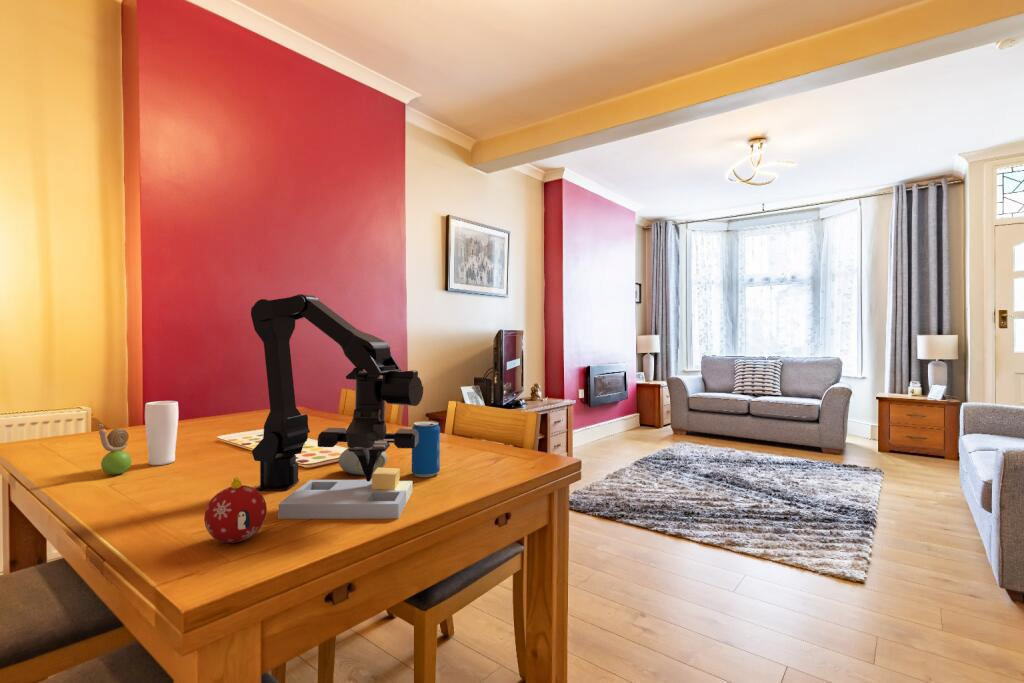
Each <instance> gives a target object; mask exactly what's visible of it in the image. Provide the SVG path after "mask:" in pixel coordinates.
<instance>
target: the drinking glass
mask: <svg viewBox="0 0 1024 683" xmlns="http://www.w3.org/2000/svg"><path fill="white" fill-rule="evenodd" d="M179 413H180V412H179V402H178V401H176V400H159V401H150V402H146V403H145V406H144V424H145V434H146V443H147V453H148V464H149V465H151V466H163V465H164V466H165V465H169V464H172V463H174V462H175V460H176V448H177V447H176V446H177V437H178V429H179V428H178V427H179V415H180V414H179Z"/></svg>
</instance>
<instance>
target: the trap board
mask: <svg viewBox="0 0 1024 683" xmlns="http://www.w3.org/2000/svg"><path fill="white" fill-rule="evenodd" d="M413 486H414V485H413V480H399V484H398V486H397V487H396V489H395V490H382V489H372V479H371V481H367V480H366V479H309V480H308V481H307V482H306V483H304V484H303V485H302V486H300V487H299V488H298V489H297V490H294V491H293V492H292V493H290V494H289V495H288V496H287V497H285V498H284V499H282V500H281V501H280V502H279V503H278V519H279V520H280V519H281V520H282V519H283V520H284V519H285V520H286V519H293V520H294V519H302V520H303V519H306V520H307V519H308V520H309V519H322V520H323V519H327V520H329V519H331V520H332V519H349V520H350V519H360V520H361V519H365V520H366V519H375V520H376V519H388V520H389V519H400V517H401V514H402V512H403V510H405V506H406V505H407V503H408V501H409V499H410V497H411V495H412V493H413Z"/></svg>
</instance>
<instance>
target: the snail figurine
mask: <svg viewBox="0 0 1024 683" xmlns="http://www.w3.org/2000/svg"><path fill="white" fill-rule="evenodd" d="M97 426H98V428H99V431H98V435H99V437H100V442H101V445H102V447H103V449H104V450H106V451H108V453H106V454H105V455H104V456H103V458H102V459H101V463H100V466H101V469H102V470H103V472H104V473H106V474H108V475H111V476H112V475H113V476H114V475H120V474H123V473H125V472H127V470H129V469H130V467H131V465H132V460H133V459H132V457H131V454H130V453H128V452H127V451H125V450H124V449H126V447H127V446H128V445H129V444H128V443H127V442H128V440H129V433H128V431H127V430H126V429H124V428H122V427H121V428H120V427H119V428H114V429H113V430H111V431H110V432H109V433H108V434H107V432H108V431H107V430H106V428H103V427H104V424H101V423H99V424H98V425H97ZM100 427H101V429H100Z"/></svg>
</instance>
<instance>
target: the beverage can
mask: <svg viewBox="0 0 1024 683" xmlns="http://www.w3.org/2000/svg"><path fill="white" fill-rule="evenodd" d="M411 429H416V430H417V431H418V432H419V442H418V444H417V445H416V447H415V448H411V473H412V474H414V476H415V477H417V478H432V477H435V476H436V475H437V474H438V473H439V472H440V471H441V470H440V469H441V427H440V425H439V422H438V421H434V420H420V421H416V422H414V423H413V426H412V428H411Z"/></svg>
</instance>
